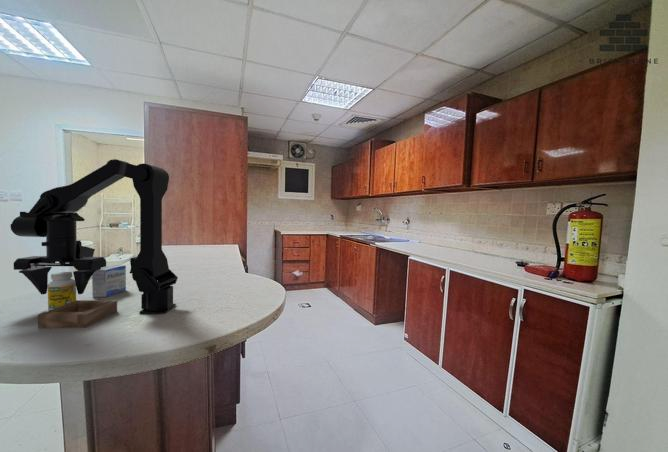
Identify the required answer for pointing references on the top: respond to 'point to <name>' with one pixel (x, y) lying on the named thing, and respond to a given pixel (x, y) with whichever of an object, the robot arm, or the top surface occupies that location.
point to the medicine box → (109, 281)
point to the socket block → (77, 314)
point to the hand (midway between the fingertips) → (62, 294)
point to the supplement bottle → (61, 290)
